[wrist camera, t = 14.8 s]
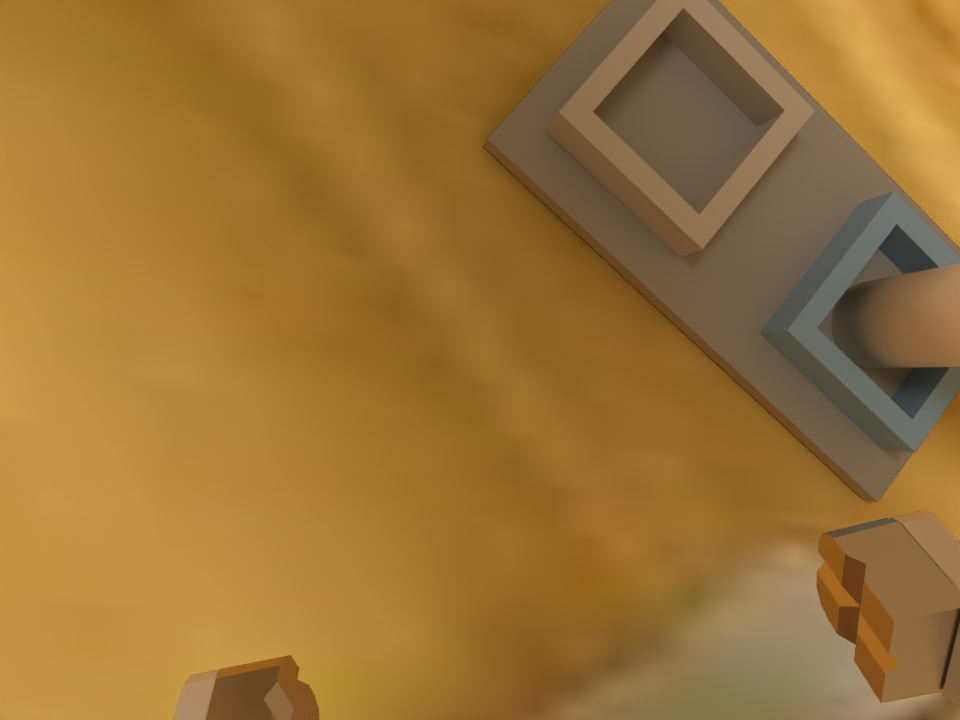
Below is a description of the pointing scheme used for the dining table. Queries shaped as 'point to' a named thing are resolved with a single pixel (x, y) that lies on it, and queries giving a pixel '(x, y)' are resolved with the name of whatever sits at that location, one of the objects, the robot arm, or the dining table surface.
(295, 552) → the dining table surface
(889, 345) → the knob-topped cream cylinder
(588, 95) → the lever base plate
